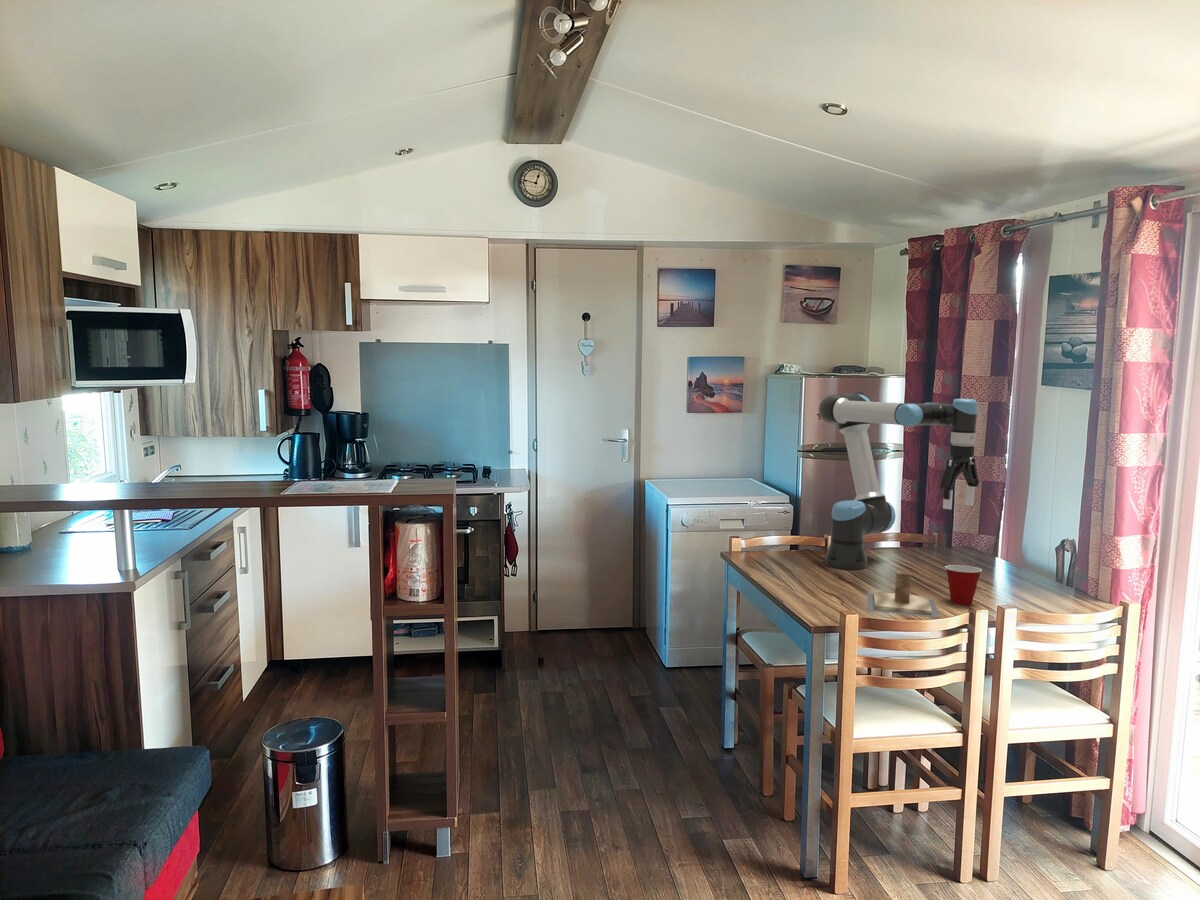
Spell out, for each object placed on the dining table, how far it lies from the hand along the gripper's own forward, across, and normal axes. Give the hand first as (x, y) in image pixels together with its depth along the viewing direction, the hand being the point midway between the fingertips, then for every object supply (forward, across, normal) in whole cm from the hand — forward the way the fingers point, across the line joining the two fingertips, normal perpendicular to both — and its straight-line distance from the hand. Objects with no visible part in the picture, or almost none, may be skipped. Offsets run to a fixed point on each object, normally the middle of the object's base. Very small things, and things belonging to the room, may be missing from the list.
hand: (958, 507), depth 281 cm
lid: (+26, -40, -7) cm, 48 cm away
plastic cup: (+26, -22, -15) cm, 38 cm away
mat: (+26, -40, -7) cm, 49 cm away
